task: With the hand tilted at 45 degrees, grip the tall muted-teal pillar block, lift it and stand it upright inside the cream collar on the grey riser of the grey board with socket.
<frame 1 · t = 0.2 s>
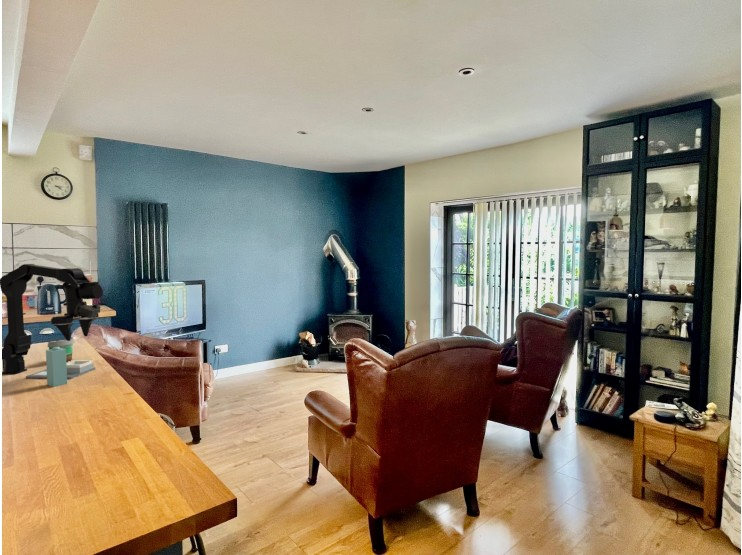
hand: (77, 338, 176), 14 cm above the table, tool pointing down, fingers open, 9 cm apart
pillar: (57, 384, 162), on the table
grey board with socket: (61, 373, 177), on the table
food container: (65, 361, 196), on the table
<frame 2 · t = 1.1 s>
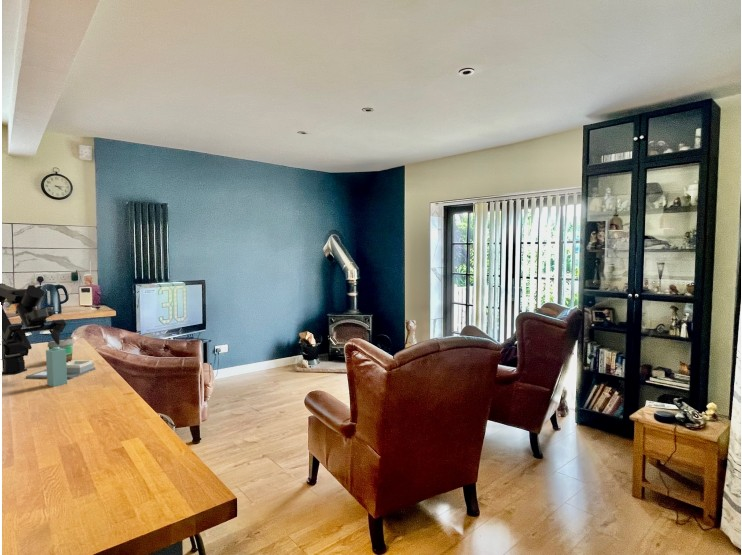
hand: (45, 346, 165), 13 cm above the table, tool tilted 45°, fingers open, 9 cm apart
nothing on the table moved.
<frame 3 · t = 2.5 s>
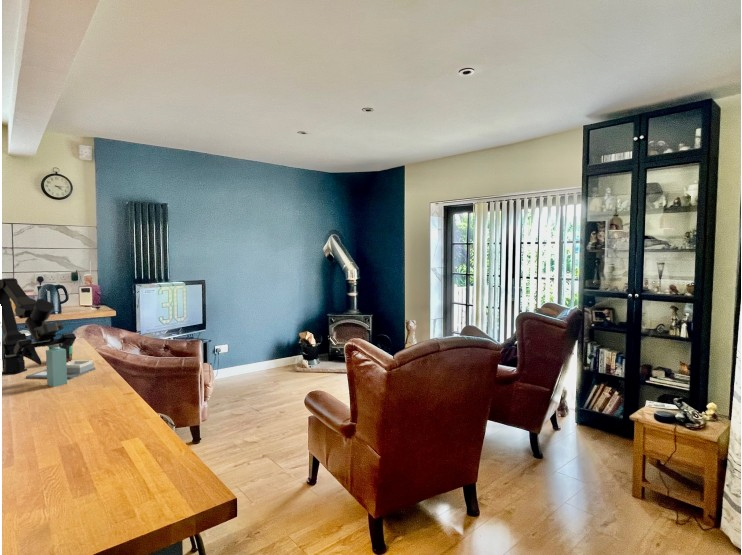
hand: (55, 361, 162), 9 cm above the table, tool tilted 45°, fingers open, 9 cm apart
nothing on the table moved.
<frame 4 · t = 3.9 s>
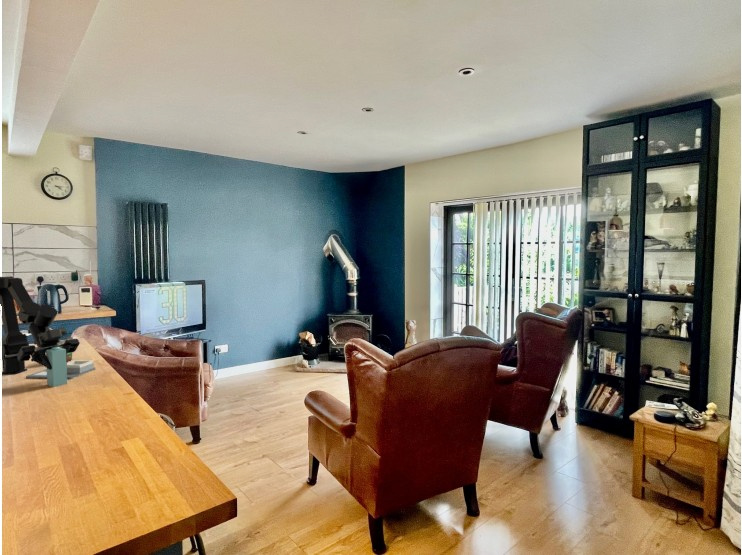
hand: (58, 367, 161), 7 cm above the table, tool tilted 45°, fingers closed on pillar, 4 cm apart
pillar: (57, 384, 162), on the table, touching gripper
everything else where it was.
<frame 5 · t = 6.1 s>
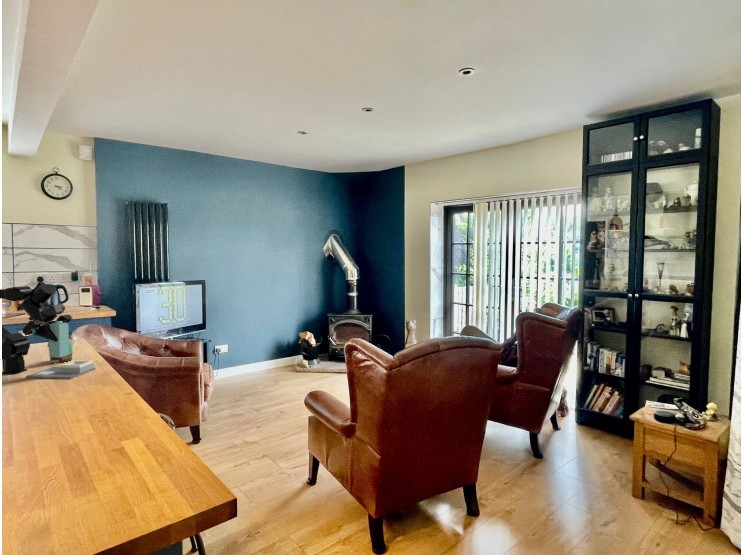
hand: (62, 339, 175), 14 cm above the table, tool tilted 45°, fingers closed on pillar, 4 cm apart
pillar: (59, 355, 176), point 7 cm above the table, touching gripper
everything else where it was.
when the fingers open (11 cm above the table, at t = 8.6 s): pillar drops 2 cm, resting on grey board with socket.
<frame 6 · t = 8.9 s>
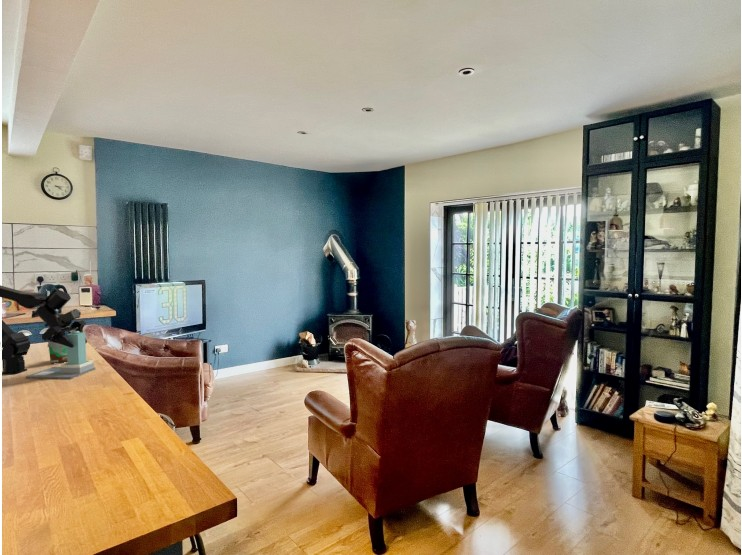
hand: (79, 344, 178), 11 cm above the table, tool tilted 45°, fingers open, 8 cm apart
pillar: (77, 365, 178), point 3 cm above the table, touching grey board with socket
everything else where it was.
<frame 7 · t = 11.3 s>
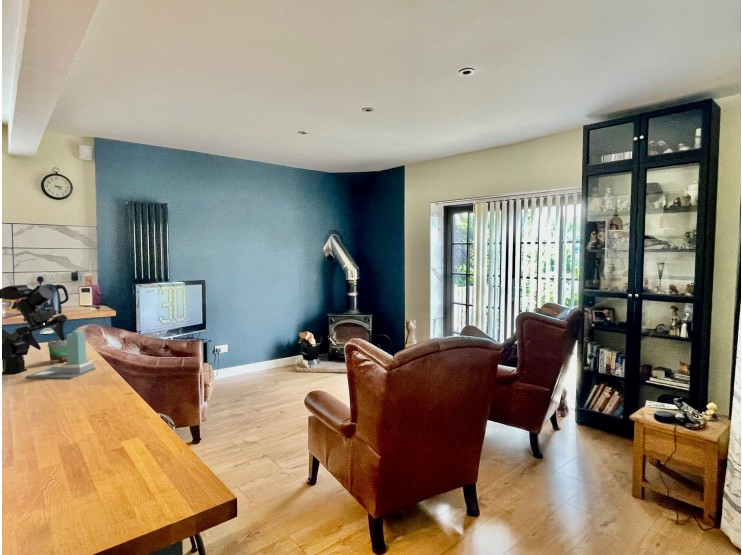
hand: (52, 344, 176), 12 cm above the table, tool tilted 35°, fingers open, 9 cm apart
nothing on the table moved.
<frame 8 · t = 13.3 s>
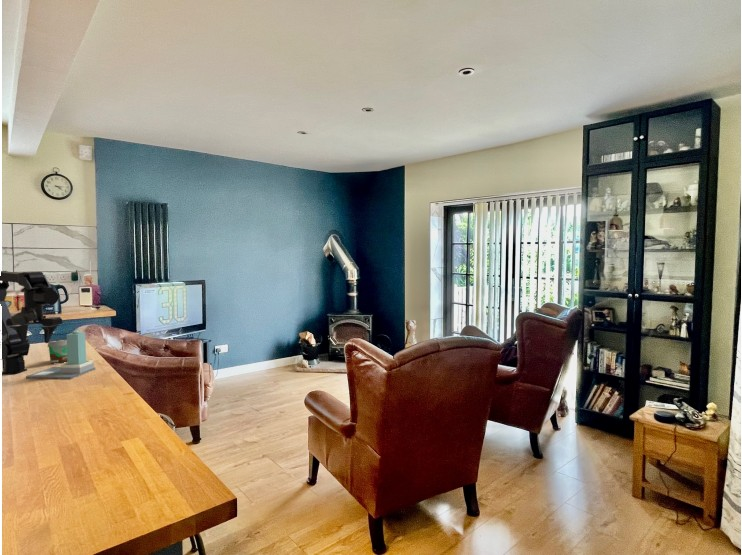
hand: (35, 343, 173), 13 cm above the table, tool pointing down, fingers open, 9 cm apart
nothing on the table moved.
at the end: pillar 0.1 cm from the target spot on the grey board with socket, point 3.0 cm above the grey board with socket's base; pillar tilted 0°; the gripper is holding nothing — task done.
